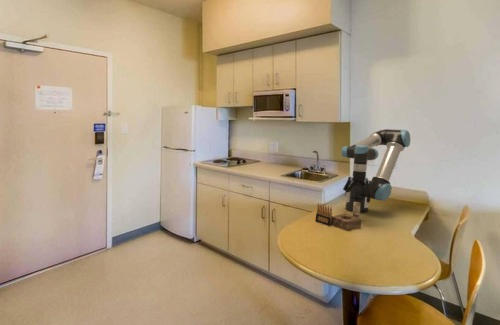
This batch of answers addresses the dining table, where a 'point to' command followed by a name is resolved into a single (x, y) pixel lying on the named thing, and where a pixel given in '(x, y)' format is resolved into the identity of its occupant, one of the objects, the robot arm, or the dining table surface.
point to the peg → (356, 209)
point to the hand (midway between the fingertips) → (356, 204)
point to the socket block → (346, 222)
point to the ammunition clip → (324, 215)
